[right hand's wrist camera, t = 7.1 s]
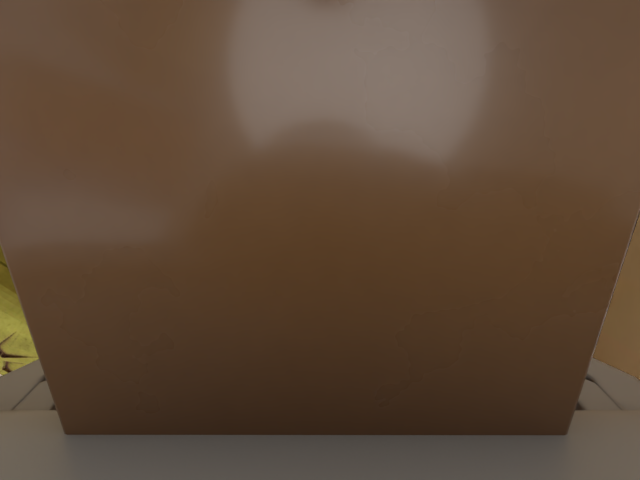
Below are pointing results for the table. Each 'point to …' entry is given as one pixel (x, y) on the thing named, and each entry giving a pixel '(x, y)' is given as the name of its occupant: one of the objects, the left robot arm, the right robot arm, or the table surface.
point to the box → (317, 209)
